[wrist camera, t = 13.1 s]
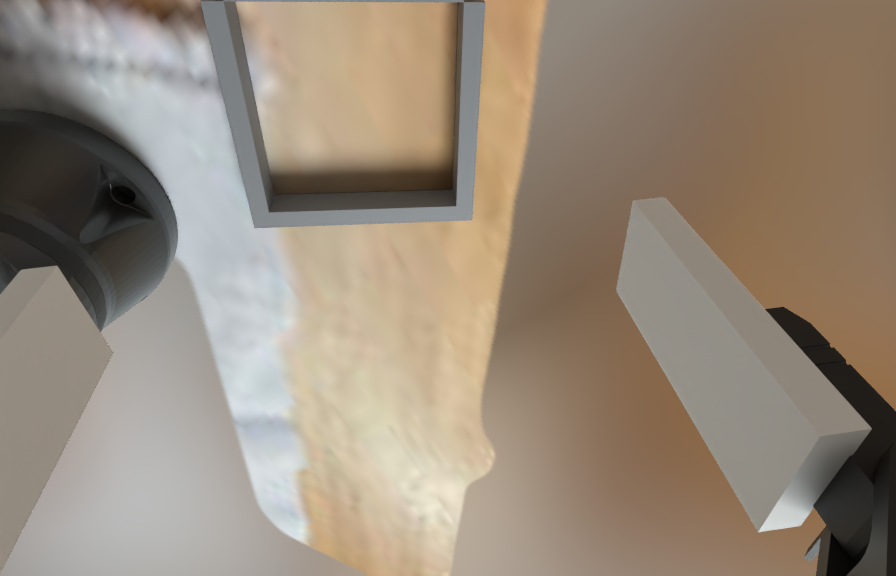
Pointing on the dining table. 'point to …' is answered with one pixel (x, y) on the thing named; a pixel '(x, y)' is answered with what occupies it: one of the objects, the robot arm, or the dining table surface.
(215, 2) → the cup caddy
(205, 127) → the dining table surface
